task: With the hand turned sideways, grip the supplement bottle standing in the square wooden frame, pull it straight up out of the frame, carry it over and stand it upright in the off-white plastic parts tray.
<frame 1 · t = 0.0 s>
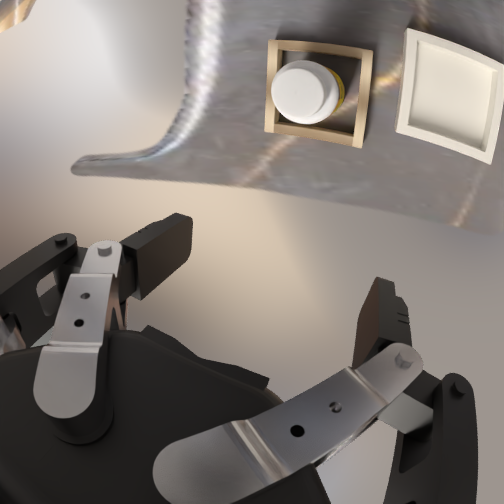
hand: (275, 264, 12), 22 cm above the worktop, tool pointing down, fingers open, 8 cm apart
supplement bottle: (319, 90, 26), resting in square wooden frame
square wooden frame: (319, 90, 26), on the worktop
parts tray: (449, 94, 20), on the worktop
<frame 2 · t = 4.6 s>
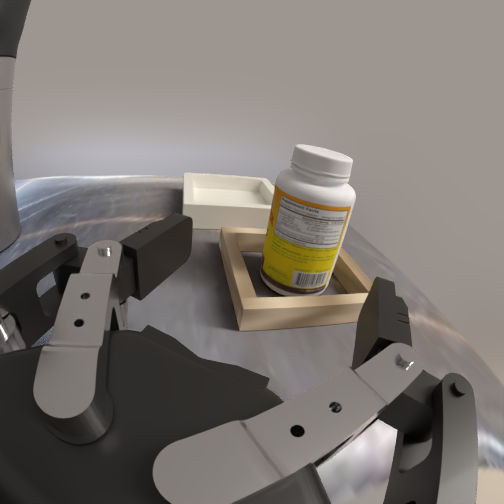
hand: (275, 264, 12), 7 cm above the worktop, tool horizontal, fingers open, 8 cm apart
supplement bottle: (291, 282, 23), resting in square wooden frame
square wooden frame: (292, 279, 23), on the worktop
parts tray: (229, 208, 33), on the worktop
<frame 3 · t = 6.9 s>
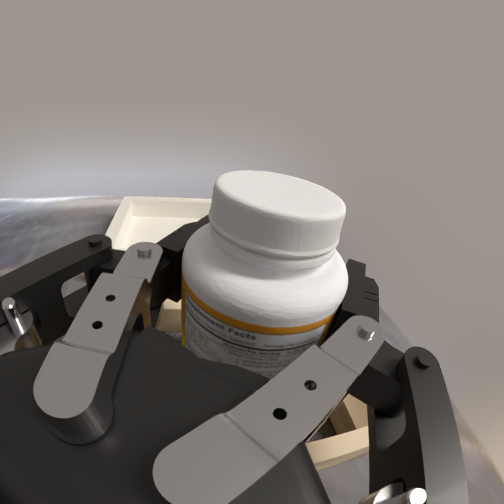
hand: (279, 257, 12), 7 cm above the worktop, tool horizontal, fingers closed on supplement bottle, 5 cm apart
supplement bottle: (237, 391, 13), resting in square wooden frame, touching gripper
square wooden frame: (238, 389, 13), on the worktop
parts tray: (176, 248, 24), on the worktop
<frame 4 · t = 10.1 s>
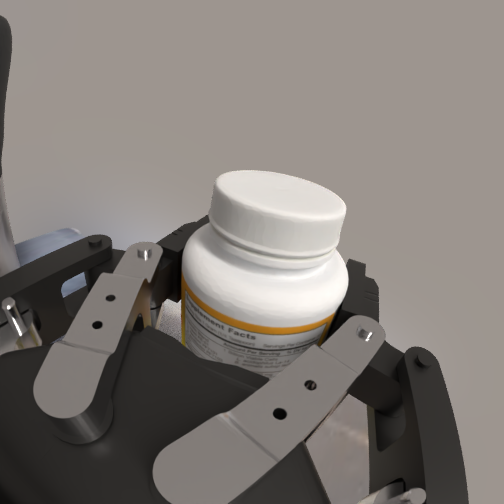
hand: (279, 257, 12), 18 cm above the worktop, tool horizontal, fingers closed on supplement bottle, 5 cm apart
supplement bottle: (237, 391, 13), point 11 cm above the worktop, touching gripper
when the fingers open (8 cm above the worktop, at t = 13.1 s): supplement bottle drops 1 cm, resting on parts tray.
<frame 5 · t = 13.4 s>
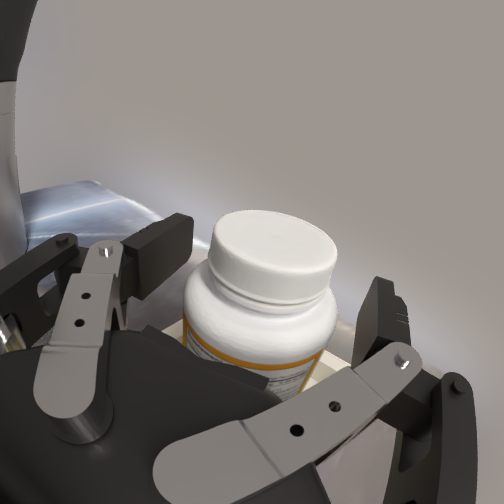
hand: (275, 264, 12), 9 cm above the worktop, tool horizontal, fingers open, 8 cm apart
supplement bottle: (234, 406, 14), point 1 cm above the worktop, touching parts tray
parts tray: (233, 409, 14), on the worktop
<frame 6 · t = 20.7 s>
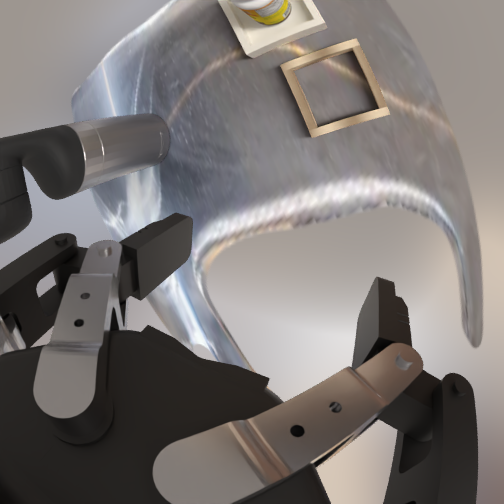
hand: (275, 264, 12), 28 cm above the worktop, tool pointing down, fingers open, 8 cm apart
supplement bottle: (272, 11, 28), point 1 cm above the worktop, touching parts tray
square wooden frame: (336, 88, 31), on the worktop
parts tray: (273, 12, 28), on the worktop
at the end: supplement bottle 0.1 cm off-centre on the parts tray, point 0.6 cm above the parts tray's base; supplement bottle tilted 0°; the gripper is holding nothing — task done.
